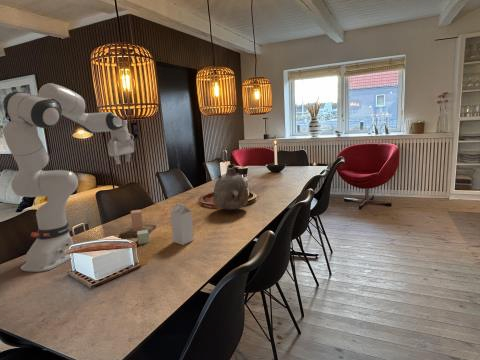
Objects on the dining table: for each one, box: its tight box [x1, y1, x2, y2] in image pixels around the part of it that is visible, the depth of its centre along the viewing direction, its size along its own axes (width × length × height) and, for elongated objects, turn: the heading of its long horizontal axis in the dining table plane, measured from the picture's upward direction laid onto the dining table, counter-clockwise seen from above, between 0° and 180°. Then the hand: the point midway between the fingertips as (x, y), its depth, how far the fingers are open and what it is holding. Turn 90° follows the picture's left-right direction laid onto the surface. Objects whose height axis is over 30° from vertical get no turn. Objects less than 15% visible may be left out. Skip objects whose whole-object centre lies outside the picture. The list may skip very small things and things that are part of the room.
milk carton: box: [170, 202, 194, 246], centre depth 151 cm, size 7×7×19 cm
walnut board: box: [118, 224, 157, 238], centre depth 168 cm, size 14×14×2 cm
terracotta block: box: [130, 209, 144, 232], centre depth 166 cm, size 5×5×10 cm
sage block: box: [137, 230, 150, 245], centre depth 154 cm, size 5×5×5 cm
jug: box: [213, 163, 249, 212], centre depth 194 cm, size 24×21×30 cm
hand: (123, 162), depth 169 cm, fingers open, 8 cm apart
